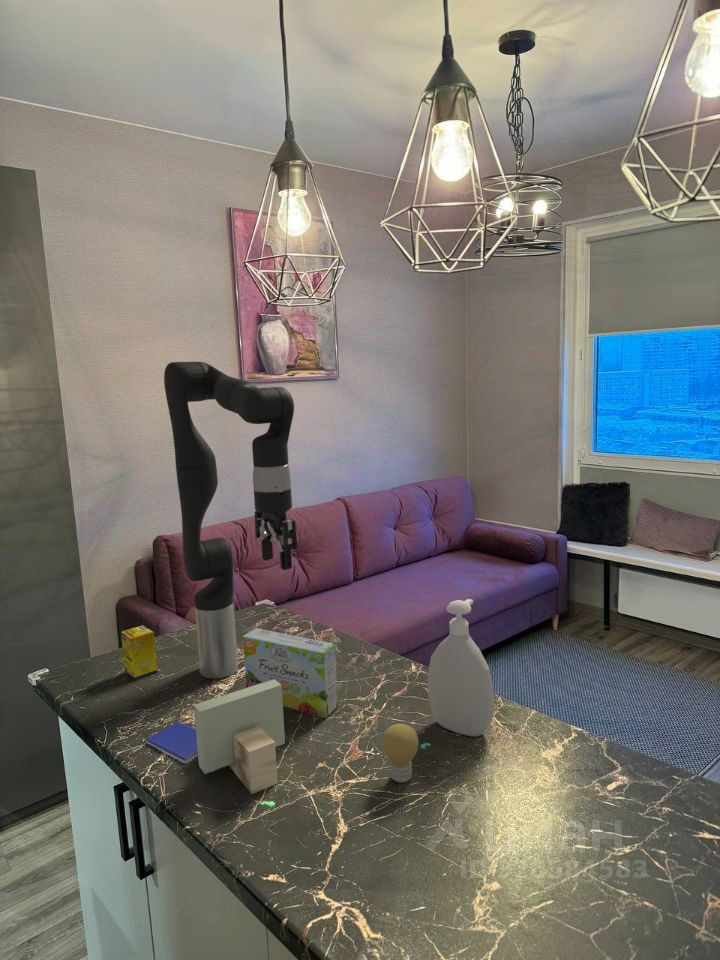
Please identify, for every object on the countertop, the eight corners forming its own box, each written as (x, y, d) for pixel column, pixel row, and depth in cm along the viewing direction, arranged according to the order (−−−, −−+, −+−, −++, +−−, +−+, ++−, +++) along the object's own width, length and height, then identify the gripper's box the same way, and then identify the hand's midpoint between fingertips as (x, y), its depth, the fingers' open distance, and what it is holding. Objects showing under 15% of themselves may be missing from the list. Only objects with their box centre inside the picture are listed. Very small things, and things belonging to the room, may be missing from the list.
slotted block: (213, 746, 128) (210, 709, 127) (237, 738, 131) (234, 701, 129) (251, 794, 113) (248, 752, 112) (277, 783, 116) (275, 742, 115)
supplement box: (124, 673, 162) (120, 631, 160) (147, 665, 166) (143, 624, 164) (134, 681, 157) (130, 638, 155) (157, 672, 161) (154, 630, 159)
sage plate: (199, 765, 119) (193, 704, 117) (278, 736, 127) (274, 679, 125) (204, 774, 116) (199, 711, 114) (285, 743, 125) (281, 685, 123)
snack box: (245, 699, 147) (240, 635, 144) (260, 687, 152) (256, 626, 149) (326, 719, 137) (323, 651, 134) (339, 706, 142) (336, 641, 139)
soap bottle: (503, 728, 131) (503, 600, 126) (485, 747, 124) (484, 613, 120) (441, 708, 140) (438, 587, 135) (420, 725, 133) (418, 599, 129)
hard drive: (218, 738, 129) (179, 720, 137) (185, 758, 123) (145, 738, 130) (219, 746, 129) (180, 727, 137) (185, 766, 123) (146, 745, 130)
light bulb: (425, 773, 117) (424, 722, 116) (409, 793, 112) (408, 740, 110) (393, 763, 120) (392, 713, 119) (376, 783, 115) (375, 731, 113)
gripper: (240, 484, 136) (245, 560, 138) (271, 494, 124) (276, 576, 127) (273, 480, 140) (277, 553, 142) (305, 489, 128) (309, 568, 131)
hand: (276, 564), depth 135 cm, fingers open, 8 cm apart
